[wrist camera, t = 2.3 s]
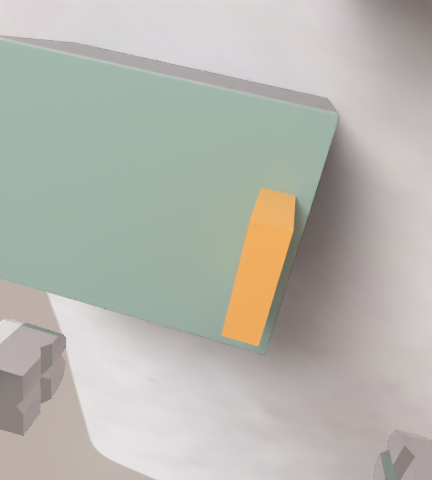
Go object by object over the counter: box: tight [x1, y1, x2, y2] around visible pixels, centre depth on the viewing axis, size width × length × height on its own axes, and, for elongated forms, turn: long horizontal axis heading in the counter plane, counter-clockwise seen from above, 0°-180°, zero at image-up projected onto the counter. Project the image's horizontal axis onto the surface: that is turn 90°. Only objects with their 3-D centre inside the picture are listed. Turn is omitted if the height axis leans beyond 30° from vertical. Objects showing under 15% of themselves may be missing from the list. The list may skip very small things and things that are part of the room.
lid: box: [0, 37, 339, 355], centre depth 18 cm, size 16×12×6 cm
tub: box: [0, 35, 337, 112], centre depth 24 cm, size 16×12×8 cm
